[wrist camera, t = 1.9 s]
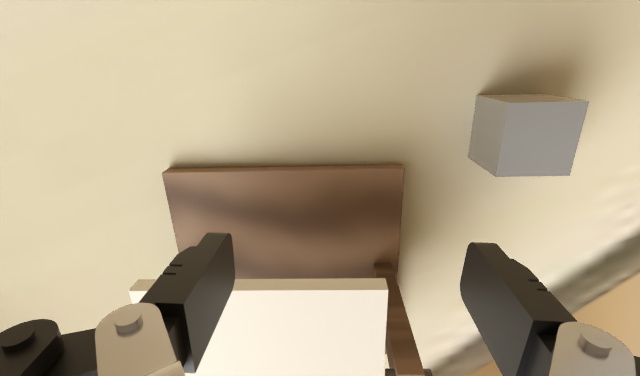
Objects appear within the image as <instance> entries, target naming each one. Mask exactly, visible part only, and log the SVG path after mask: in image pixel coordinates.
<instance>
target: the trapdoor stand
mask: <svg viewBox="0 0 640 376" xmlns="http://www.w3.org/2000/svg"><path fill="white" fill-rule="evenodd" d="M162 176H163V181H164V185H165V190H166V195H167V200H168V204H169V209H170V214H171V218H172V223H173V228H174V233H175V237H176V242H177V247H178V252H179V253H180V252H182V251H184V250H185V249H187V248H188V247H190V246H197V245H198V244H199V242H200V241H201V240H202V238H203V237H204V236H205V234H206V233H208V232H215V233H230V234H231V236H232V242H233V253H234V264H235V279H338V278H385V279H386V283H387V287H388V305H387V322H386V339H385V354H387V357H388V362H389V367H390V369H385V376H432V372H431V370H430V369H423V367H422V363H421V360H420V357H419V353H418V350H417V347H416V343H415V340H414V337H413V334H412V330H411V327H410V324H409V320H408V317H407V314H406V310H405V307H404V304H403V300H402V297H401V294H400V290H399V287H398V284H397V269H398V255H399V240H400V225H401V211H402V196H403V181H404V168H403V166H402V165H401V164H394V165H338V166H283V167H227V168H171V169H167V170H166V171H164V172H163V173H162Z"/></svg>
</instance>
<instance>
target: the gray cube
mask: <svg viewBox="0 0 640 376" xmlns="http://www.w3.org/2000/svg"><path fill="white" fill-rule="evenodd" d="M588 103H589V101H586V100H580V99H573V98H567V97H561V96H554V95H548V94H507V95H477V97H476V104H475V111H474V119H473V126H472V133H471V140H470V147H469V154H468V158H470V159H471V160H473V161H474V162H476V163H477V164H478V165H480V166H481V167H483V168H484V169H485V170H487V171H488V172H490V173H491V174H493V175H494V176H495V177H511V176H570V172H571V168H572V165H573V161H574V157H575V153H576V149H577V145H578V142H579V138H580V134H581V130H582V126H583V122H584V119H585V115H586V111H587V107H588Z"/></svg>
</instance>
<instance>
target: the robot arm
mask: <svg viewBox="0 0 640 376" xmlns="http://www.w3.org/2000/svg"><path fill="white" fill-rule="evenodd" d="M234 282H235V264H234V253H233V242H232V236H231V234H230V233H215V232H208V233H206V234H205V236H204V237H203V238H202V240H201V241H200V242H199V244H198V245H197V246H190V247H188V248H187V249H185V250H184V251H182V252H180V253H179V254H177V256H176V257H175V258H174V259H173V261H172V262H171V263H170V265H169V266H168V267H167V268H166V269H165V270H164V272H163V275H160V277H159V278H158V279H157V280H156V281H155V283H154V284H153V285H152V286H151V288H150V289H149V290H148V291H147V293H146V294H145V295H144V296H143V297H142V299H141V300H140V301H139V302H138V303H135V304H130V305H126V306H124V307H121V308H119V309H117V310H115V311H113V312H111V313H110V314H109V315H107V316H106V317H105V318H104V319H103V320H102V321H101V322H100V323H99V324H98V326H97V328H95V329H90V330H85V331H80V332H74V333H69V334H64V335H61V334H60V331H59V328H58V325H57V324H56V323H55V322H54V321H52V320H48V319H38V320H32V321H28V322H24V323H21V324H18V325H16V326H13V327H11V328H9V329H7V330H5V331H3V332H1V333H0V376H185V373H196V371H197V369H198V366H199V364H200V362H201V360H202V357H203V355H204V353H205V351H206V348H207V346H208V344H209V342H210V339H211V337H212V335H213V333H214V331H215V328H216V326H217V324H218V322H219V319H220V317H221V315H222V313H223V310H224V308H225V306H226V304H227V301H228V299H229V297H230V295H231V292H232V290H233V287H234ZM460 291H461V296H462V300H463V302H464V304H465V306H466V307H467V309H468V311H469V313H470V315H471V317H472V319H473V321H474V323H475V324H476V326H477V328H478V330H479V332H480V334H481V336H482V338H483V339H484V341H485V343H486V345H487V347H488V349H489V351H490V353H491V355H492V356H493V358H494V360H495V362H496V364H497V366H498V368H499V370H500V371H501V373H502V375H503V376H640V357H636V356H633V354H632V353H631V351H630V350H629V348H627V346H626V345H625V344H624V343H622V342H621V341H620V340H618V339H617V338H616V337H614V336H613V335H611V334H610V333H608V332H606V331H604V330H602V329H600V328H597V327H595V326H592V325H589V324H585V323H581V322H577V320H575V318H574V317H573V316H572V315H571V314H570V313H569V312H568V311H567V310H566V309H565V307H564V306H563V305H562V304H561V303H560V302H559V301H558V300H557V299H556V298H555V297H554V296H553V295H552V293H551V292H550V291H547V288H546V287H545V286H544V285H543V284H542V283H541V282H539V279H538V278H537V277H536V276H535V275H534V274H533V273H532V272H531V271H530V270H529V269H528V268H527V267H525V266H523V265H522V264H520V263H519V262H517V261H516V260H514V259H509V257H508V256H507V255H506V254H505V253H504V252H503V251H502V249H501V248H500V247H499V246H498V245H497V244H495V243H475V242H472V243H470V244H469V245H468V248H467V252H466V257H465V262H464V267H463V272H462V276H461V282H460Z"/></svg>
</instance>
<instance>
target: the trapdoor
mask: <svg viewBox="0 0 640 376" xmlns="http://www.w3.org/2000/svg"><path fill="white" fill-rule="evenodd" d="M156 280H157V279H156ZM156 280H137V282H136V283H135V284H134V285H133V286H132V287H131V288H130V290H129V291H128V292H129V296H130V299H131V303H132V304H135V303H138V302H139V301H140V300H141V299H142V297H143V296H144V295H145V294H146V293H147V291H148V290H149V289H150V288H151V286H152V285H153V284H154V283H155V281H156ZM387 305H388V287H387V283H386V279H385V278H338V279H235V282H234V287H233V290H232V292H231V295H230V297H229V299H228V301H227V304H226V306H225V308H224V310H223V313H222V315H221V317H220V319H219V322H218V324H217V326H216V328H215V331H214V333H213V335H212V337H211V339H210V342H209V344H208V346H207V348H206V351H205V353H204V355H203V357H202V360H201V362H200V364H199V366H198V369H197V371H196V373H185V376H383V374H384V357H385V339H386V322H387Z"/></svg>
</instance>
